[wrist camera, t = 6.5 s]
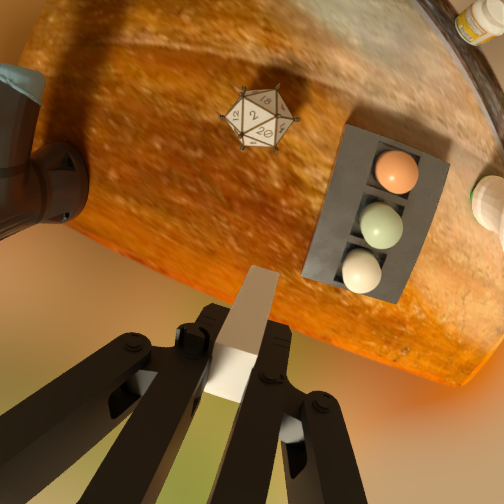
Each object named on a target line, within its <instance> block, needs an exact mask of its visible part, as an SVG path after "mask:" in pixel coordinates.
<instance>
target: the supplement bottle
mask: <svg viewBox="0 0 504 504" xmlns="http://www.w3.org/2000/svg"><path fill="white" fill-rule="evenodd" d="M455 26H456V29H457V31H458V33H459V35H460V36H461V37H462V38H463V39H464V40H465V41H466V42H468V43H469V44H472V45H476V46H478V45H481V44H484V43H486V42H488V41H490V40H491V39H494V38H496V37H498V36H500V35H502V34H503V33H504V4H503V3H502V2H501V1H500V0H477V1H475V2H474V3H473V4H471V5H470V6H469V7H468V8H467V9H465V10H464V11H463V12H462V13H461V14H459V15H458V16H457V17H456V19H455Z"/></svg>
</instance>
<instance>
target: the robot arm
mask: <svg viewBox="0 0 504 504" xmlns="http://www.w3.org/2000/svg"><path fill="white" fill-rule="evenodd" d="M44 88H45V77H44V75H43V74H42V73H40V72H38V71H35V70H31V69H27V68H23V67H19V66H14V65H9V64H3V63H0V241H1V240H3V239H5V238H7V237H9V236H11V235H13V234H15V233H18V232H20V231H22V230H24V229H27V228H29V227H31V226H33V225H35V224H38V223H39V224H41V223H42V224H62V223H65V222H68V221H70V220H73V219H74V218H76V217H77V216H78V215H79V214H80V213H81V211H82V210H83V208H84V206H85V203H86V200H87V195H88V174H87V170H86V166H85V163H84V160H83V158H82V156H81V155H80V153H79V152H78V150H77V149H76V148H75V147H74V146H72V145H71V144H69V143H67V142H62V141H60V142H52V143H49V144H46V145H44V146H43V147H41V148H39V149H38V150H36V151H35V152H33V153H32V154H31V150H32V144H33V139H34V134H35V129H36V124H37V119H38V115H39V111H40V107H41V106H42V102H41V101H42V96H43V92H44ZM279 274H280V273H277V272H274V271H271V270H268V269H264V268H261V267H258V266H254V265H252V266H251V268H250V270H249V272H248V274H247V276H246V278H245V280H244V282H243V284H242V286H241V289H240V291H239V293H238V295H237V297H236V299H235V301H234V303H233V305H232V307H231V309H229V308H226V307H223V306H220V305H217V304H214V303H211V304H209V305H207V306H206V307H204V308H203V310H202V311H201V313H200V315H199V317H198V318H197V320H196V321H195V323H185V324H182V325H180V326H179V327H178V328H177V330H176V339H175V346H173V347H157V346H152V345H151V342H150V340H149V339H148V338H147V337H146V336H144V335H142V334H140V333H133V332H130V333H125V334H122V335H120V336H119V337H117V338H116V339H114V340H113V341H111V342H110V343H108V344H107V345H105V346H104V347H102V348H101V349H99V350H98V351H96V352H95V353H93V354H92V355H90V356H89V357H87V358H86V359H84V360H83V361H81V362H80V363H78V364H77V365H76V366H74V367H72V368H71V369H69V370H68V371H66V372H65V373H63V374H62V375H61V376H59V377H57V378H56V379H54V380H53V381H51V382H50V383H48V384H47V385H45V386H44V387H42V388H41V389H40V390H38V391H37V392H35V393H34V394H32V395H31V396H29V397H28V398H26V399H25V400H23V401H22V402H20V403H19V404H17V405H16V406H14V407H13V408H11V409H10V410H8V411H7V412H5V413H4V414H2V415H1V416H0V504H25V503H27V502H28V501H29V500H30V499H32V498H33V497H34V496H36V495H37V494H38V493H39V492H40V491H42V490H43V489H44V488H45V487H46V486H47V485H49V484H50V483H51V482H52V481H54V480H55V479H56V478H57V477H59V476H60V475H61V474H62V473H63V472H64V471H65V470H67V469H68V468H69V467H70V466H72V465H73V464H74V463H75V462H76V461H77V460H79V459H80V458H81V457H82V456H83V455H84V454H86V453H87V452H88V451H89V450H90V449H91V448H92V447H94V446H95V445H96V444H97V443H98V442H99V441H100V440H102V439H103V438H104V437H105V436H106V435H107V434H108V433H109V432H110V431H112V430H113V429H114V428H115V427H116V426H117V425H118V424H120V423H121V422H122V421H123V420H124V419H125V418H126V417H127V416H128V415H129V414H131V413H132V412H133V413H132V415H131V416H130V418H129V419H128V421H127V423H126V424H125V426H124V427H123V429H122V431H121V432H120V434H119V436H118V437H117V439H116V441H115V442H114V444H113V445H112V447H111V449H110V450H109V452H108V453H107V455H106V457H105V458H104V460H103V462H102V463H101V465H100V467H99V468H98V470H97V472H96V473H95V475H94V477H93V478H92V480H91V482H90V483H89V485H88V486H87V488H86V490H85V491H84V493H83V495H82V497H81V498H80V500H79V501H78V502H77V503H76V504H155V503H156V500H157V498H158V496H159V494H160V492H161V489H162V487H163V485H164V483H165V480H166V478H167V476H168V474H169V471H170V469H171V467H172V465H173V462H174V460H175V458H176V456H177V453H178V451H179V449H180V447H181V444H182V442H183V440H184V437H185V435H186V433H187V431H188V428H189V426H190V424H191V422H192V419H193V417H194V415H195V412H196V410H197V408H198V406H199V403H200V400H201V395H202V392H203V390H204V391H205V392H207V393H210V394H214V395H216V396H220V397H222V398H226V399H229V400H232V401H235V402H238V403H240V405H239V408H238V410H237V413H236V416H235V418H234V421H233V426H232V429H231V432H230V435H229V438H228V441H227V444H226V447H225V450H224V453H223V457H222V459H221V463H220V465H219V468H218V471H217V474H216V477H215V480H214V483H213V486H212V489H211V492H210V495H209V498H208V501H207V504H265V503H266V499H267V494H268V489H269V485H270V480H271V475H272V470H273V464H274V459H275V454H276V449H277V443H278V439H280V440H281V448H282V456H283V464H284V472H285V480H286V488H287V497H288V504H368V503H367V499H366V496H365V492H364V488H363V484H362V481H361V478H360V474H359V470H358V466H357V463H356V459H355V456H354V452H353V449H352V445H351V442H350V438H349V435H348V432H347V428H346V425H345V421H344V418H343V415H342V412H341V408H340V406H339V403H338V401H337V400H336V399H335V398H334V397H333V396H332V395H330V394H329V393H326V392H323V391H312V392H310V393H308V394H305V393H303V392H301V391H299V390H298V389H296V388H295V387H294V386H293V385H292V384H291V383H290V382H289V380H288V378H287V375H286V371H287V364H288V358H289V351H290V344H291V337H292V333H291V330H290V328H289V326H288V325H284V324H281V323H278V322H274V321H271V320H268V316H269V312H270V309H271V305H272V301H273V297H274V293H275V290H276V286H277V282H278V278H279ZM204 388H205V389H204Z"/></svg>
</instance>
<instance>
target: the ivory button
mask: <svg viewBox="0 0 504 504" xmlns="http://www.w3.org/2000/svg"><path fill="white" fill-rule="evenodd" d="M342 273H343V280H344V283H345V285H346V287H347V288H348V289H349V290H351V291H353V292H355V293H367V292H370V291H371V290H373V289H374V288H375V287H376V286H377V285H378V284H379V282H380V280H381V269H380V266H379V264H378V261H377V259H376V257H375V255H374V254H373V253H372V252H371V251H369V250H367V249H364V248H356V249H353V250H351V251H350V252H348V253H347V254H346V255H345V257H344V258H343V261H342Z"/></svg>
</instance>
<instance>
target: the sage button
mask: <svg viewBox="0 0 504 504" xmlns="http://www.w3.org/2000/svg"><path fill="white" fill-rule="evenodd" d="M359 225H360V229H361V231H362V233H363V236H364V238H365V240H366V241H367V243H368V244H369V245H371V246H372V247H374V248H377V249H387V248H390V247H392V246H393V245H395V244H396V243H397V242H398V241H399V239H400V238H401V235H402V232H403V223H402V220H401V218H400V216H399V215H398V214H397V213H396V212H395V211H394V210H393V209H392V208H391V207H390V206H389V205H388V204H386V203H383V202H374V203H371V204H369V205H367V206H366V207H365V208H364V209H363V211H362V212H361V214H360V218H359Z"/></svg>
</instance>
